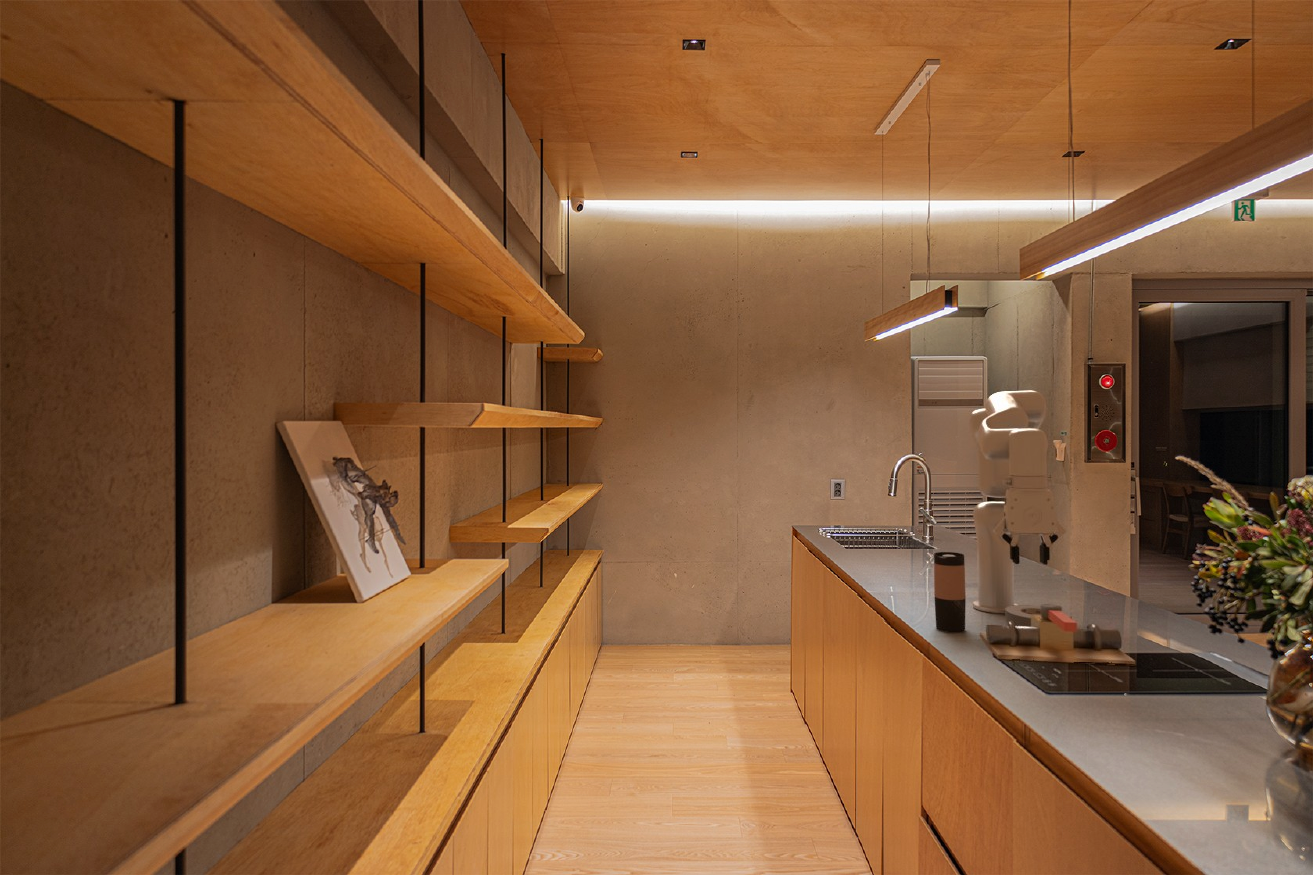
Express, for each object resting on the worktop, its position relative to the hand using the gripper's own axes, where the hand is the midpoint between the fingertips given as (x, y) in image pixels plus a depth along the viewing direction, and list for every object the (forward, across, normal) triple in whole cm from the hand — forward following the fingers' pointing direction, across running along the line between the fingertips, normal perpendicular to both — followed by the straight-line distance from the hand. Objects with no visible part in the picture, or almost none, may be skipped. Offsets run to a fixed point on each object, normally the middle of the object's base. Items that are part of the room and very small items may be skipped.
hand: (1029, 562), depth 157 cm
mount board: (+22, +7, +10) cm, 25 cm away
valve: (+22, +7, +10) cm, 25 cm away
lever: (+15, +7, +4) cm, 17 cm away
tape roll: (+23, +9, +28) cm, 37 cm away
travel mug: (+23, -13, +24) cm, 36 cm away
